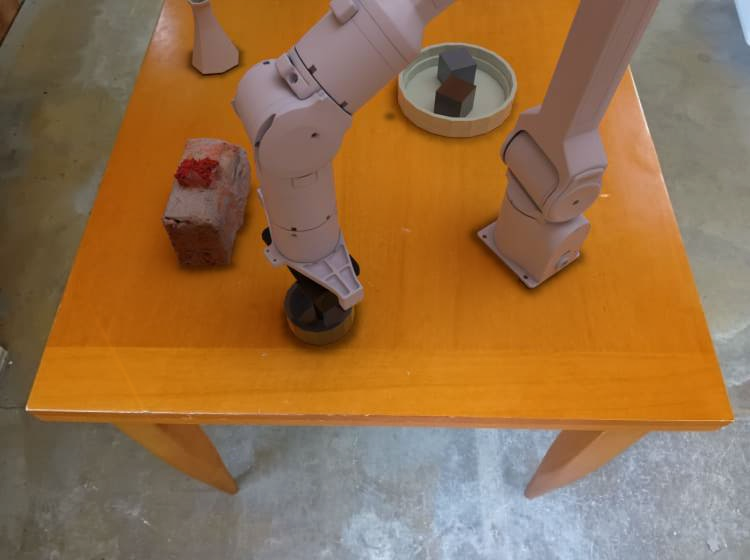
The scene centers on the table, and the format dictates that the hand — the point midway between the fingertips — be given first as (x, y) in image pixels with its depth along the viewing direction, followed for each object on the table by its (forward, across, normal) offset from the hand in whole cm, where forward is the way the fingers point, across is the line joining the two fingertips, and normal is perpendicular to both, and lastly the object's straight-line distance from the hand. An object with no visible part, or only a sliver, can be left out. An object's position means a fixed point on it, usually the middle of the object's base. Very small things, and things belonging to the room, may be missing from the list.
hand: (316, 289), depth 58 cm
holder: (+6, 0, 0) cm, 6 cm away
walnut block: (+5, -16, +32) cm, 37 cm away
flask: (+6, -46, +11) cm, 48 cm away
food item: (+6, -18, -3) cm, 20 cm away
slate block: (+5, -21, +36) cm, 42 cm away
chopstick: (+5, 0, 0) cm, 5 cm away
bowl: (+6, -18, +34) cm, 40 cm away
